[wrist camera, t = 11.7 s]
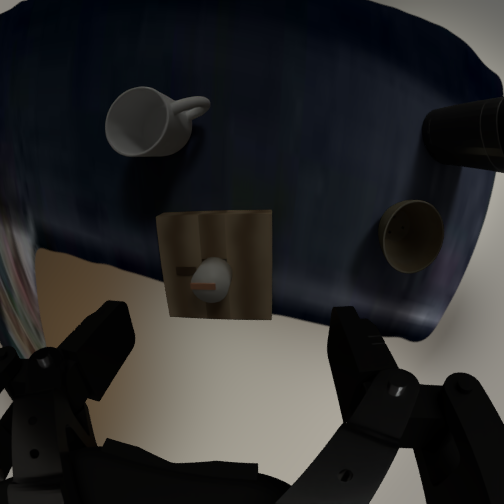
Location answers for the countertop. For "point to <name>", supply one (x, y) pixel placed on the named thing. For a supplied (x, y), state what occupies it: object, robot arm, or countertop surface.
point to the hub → (222, 246)
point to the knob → (212, 280)
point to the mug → (151, 122)
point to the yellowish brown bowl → (411, 235)
